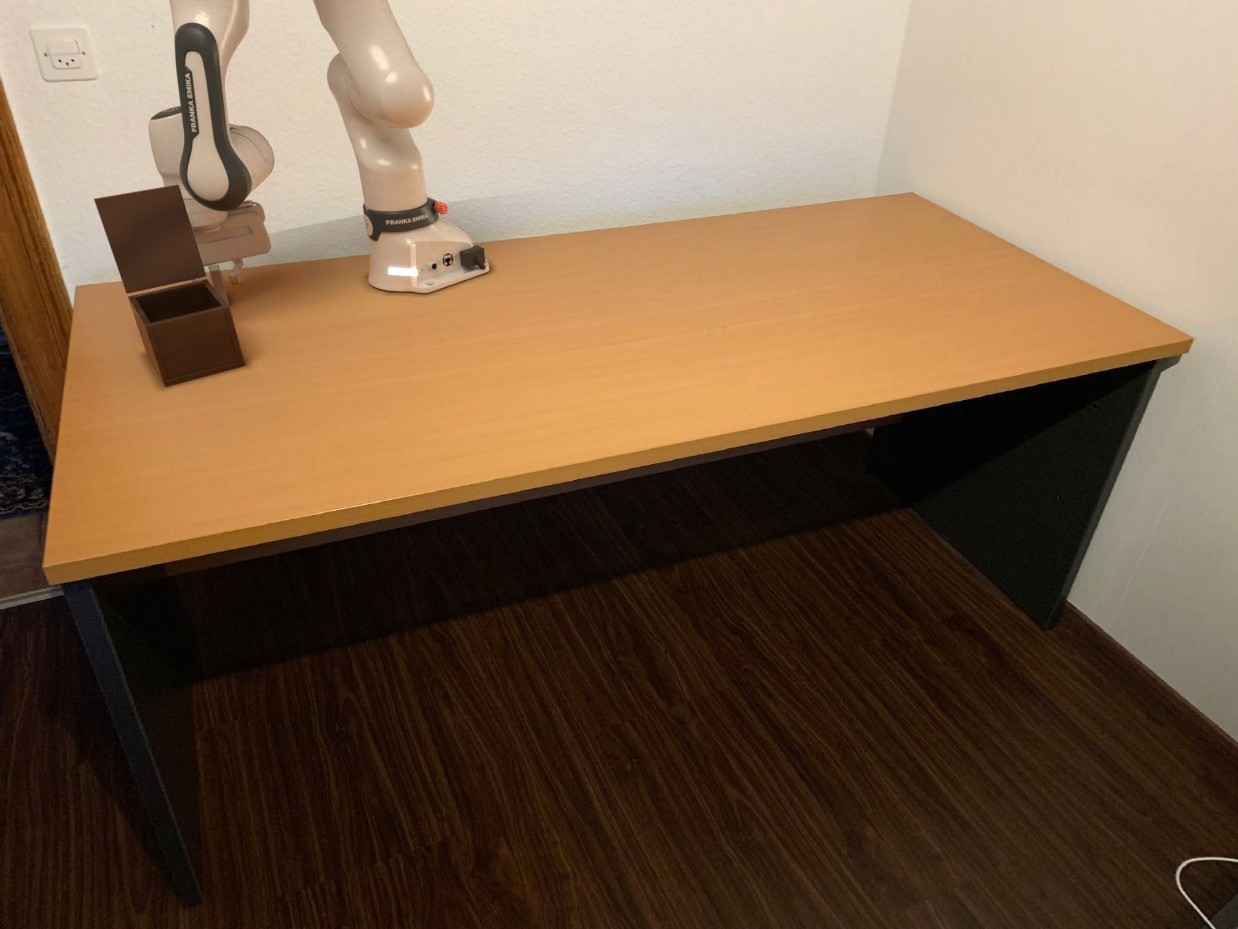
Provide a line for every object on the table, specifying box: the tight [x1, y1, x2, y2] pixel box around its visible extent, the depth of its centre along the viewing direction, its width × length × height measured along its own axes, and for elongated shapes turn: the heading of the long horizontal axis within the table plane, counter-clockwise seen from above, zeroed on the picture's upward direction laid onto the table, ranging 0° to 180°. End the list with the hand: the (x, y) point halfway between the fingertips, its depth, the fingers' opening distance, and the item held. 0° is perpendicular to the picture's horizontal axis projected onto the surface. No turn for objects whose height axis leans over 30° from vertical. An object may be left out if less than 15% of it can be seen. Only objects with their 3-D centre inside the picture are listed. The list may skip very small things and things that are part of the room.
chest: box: [127, 278, 246, 388], centre depth 141 cm, size 13×12×10 cm
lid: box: [93, 184, 207, 294], centre depth 142 cm, size 14×12×5 cm
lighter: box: [207, 264, 230, 305], centre depth 160 cm, size 7×2×8 cm, turn 25°
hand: (219, 287), depth 161 cm, fingers open, 4 cm apart
